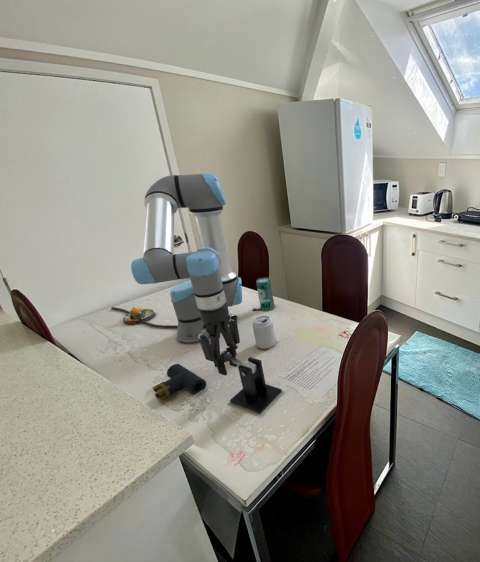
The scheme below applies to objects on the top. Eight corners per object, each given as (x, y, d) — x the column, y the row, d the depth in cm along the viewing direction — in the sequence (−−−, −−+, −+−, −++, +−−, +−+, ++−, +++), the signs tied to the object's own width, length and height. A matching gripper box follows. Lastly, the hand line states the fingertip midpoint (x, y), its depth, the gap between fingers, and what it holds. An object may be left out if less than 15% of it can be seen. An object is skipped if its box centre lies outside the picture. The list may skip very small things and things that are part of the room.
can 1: (258, 308, 154) (253, 281, 148) (268, 303, 159) (263, 276, 153) (267, 311, 151) (262, 283, 145) (276, 306, 156) (272, 279, 150)
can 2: (270, 351, 122) (265, 325, 117) (253, 349, 123) (247, 323, 119) (279, 340, 129) (275, 315, 124) (262, 338, 130) (258, 313, 125)
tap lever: (217, 362, 97) (215, 353, 96) (226, 355, 100) (225, 346, 99) (250, 378, 93) (249, 368, 92) (258, 370, 96) (258, 361, 95)
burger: (160, 311, 153) (155, 298, 150) (144, 324, 142) (139, 310, 139) (135, 312, 152) (130, 298, 150) (117, 325, 142) (111, 310, 139)
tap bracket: (230, 403, 97) (221, 368, 92) (253, 383, 106) (246, 349, 100) (260, 415, 93) (252, 379, 87) (282, 393, 101) (276, 358, 96)
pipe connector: (167, 397, 93) (143, 379, 100) (171, 411, 95) (148, 392, 102) (204, 376, 102) (180, 360, 109) (207, 388, 104) (183, 373, 111)
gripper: (196, 321, 82) (215, 390, 91) (244, 295, 96) (256, 357, 105) (177, 316, 85) (197, 383, 94) (225, 291, 99) (239, 352, 108)
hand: (228, 369), depth 100 cm, fingers closed on tap lever, 4 cm apart
